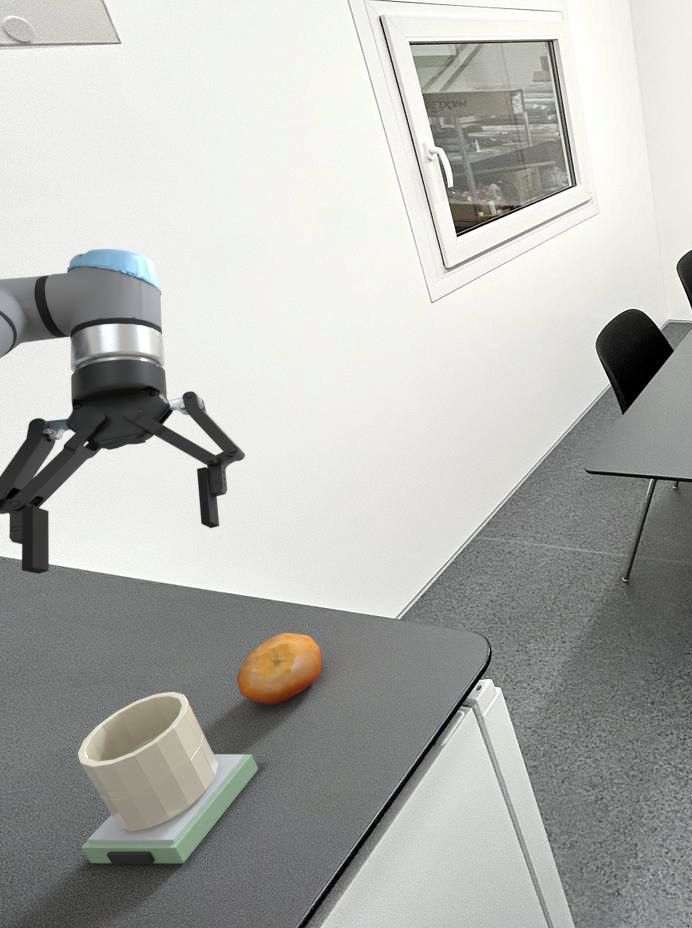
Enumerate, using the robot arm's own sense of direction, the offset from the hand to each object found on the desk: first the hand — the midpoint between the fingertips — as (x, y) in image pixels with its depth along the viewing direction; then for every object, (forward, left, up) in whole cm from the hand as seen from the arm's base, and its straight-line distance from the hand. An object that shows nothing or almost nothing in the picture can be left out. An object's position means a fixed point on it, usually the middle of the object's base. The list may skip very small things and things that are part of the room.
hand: (127, 547), depth 67 cm
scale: (0, -13, -26) cm, 29 cm away
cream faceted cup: (0, -13, -23) cm, 26 cm away
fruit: (+8, -1, -26) cm, 27 cm away
